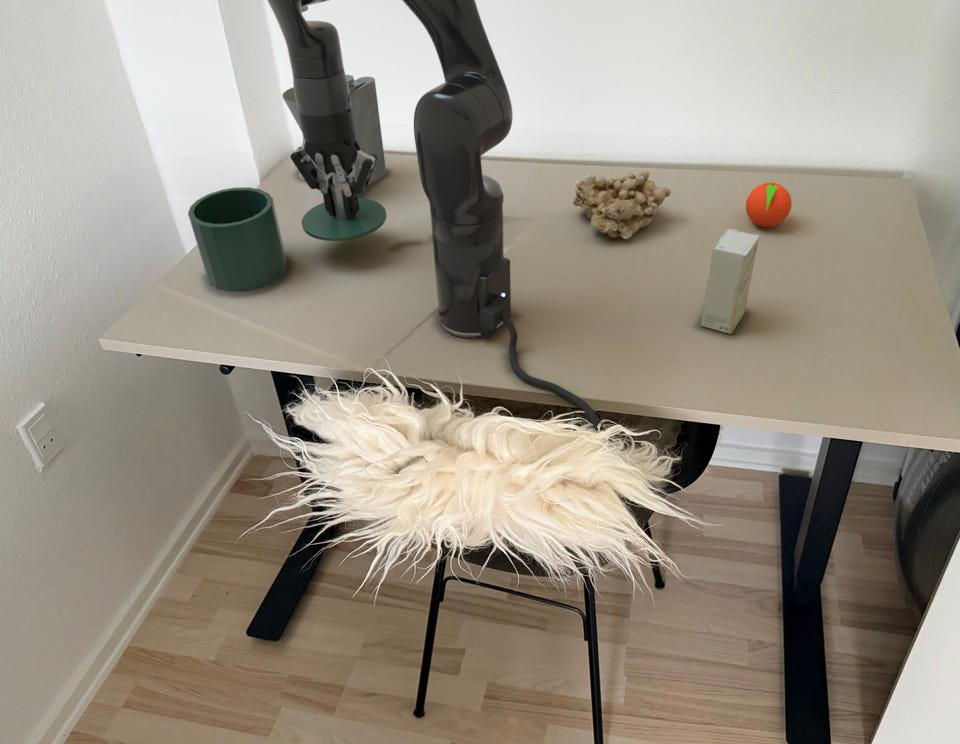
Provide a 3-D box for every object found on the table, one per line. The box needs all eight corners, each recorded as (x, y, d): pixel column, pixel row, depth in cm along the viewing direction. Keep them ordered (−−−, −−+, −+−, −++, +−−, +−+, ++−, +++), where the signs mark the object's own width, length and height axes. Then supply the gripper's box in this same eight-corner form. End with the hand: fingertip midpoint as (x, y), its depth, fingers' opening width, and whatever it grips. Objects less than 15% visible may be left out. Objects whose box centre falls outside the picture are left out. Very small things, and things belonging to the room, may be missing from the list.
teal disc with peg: (403, 215, 124) (399, 178, 120) (349, 252, 116) (343, 214, 112) (341, 197, 130) (334, 161, 126) (285, 232, 122) (276, 195, 118)
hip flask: (349, 209, 138) (331, 95, 126) (329, 206, 139) (309, 93, 127) (389, 171, 150) (376, 62, 137) (369, 168, 151) (355, 60, 138)
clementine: (784, 241, 125) (793, 199, 120) (738, 234, 127) (746, 193, 122) (788, 217, 130) (798, 177, 126) (745, 211, 132) (752, 171, 128)
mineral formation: (567, 209, 135) (649, 191, 137) (596, 259, 127) (683, 238, 129) (568, 170, 129) (654, 150, 131) (599, 219, 120) (690, 198, 122)
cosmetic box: (730, 335, 106) (746, 257, 99) (698, 326, 108) (711, 248, 101) (745, 311, 110) (761, 234, 103) (714, 303, 112) (727, 226, 105)
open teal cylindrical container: (303, 264, 125) (289, 198, 117) (247, 303, 117) (228, 234, 110) (249, 245, 130) (232, 180, 123) (191, 281, 122) (170, 214, 115)
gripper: (267, 109, 111) (291, 221, 121) (357, 116, 107) (375, 231, 118) (293, 91, 116) (314, 199, 127) (380, 96, 112) (394, 208, 123)
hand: (343, 214), depth 122 cm, fingers closed on teal disc with peg, 2 cm apart
